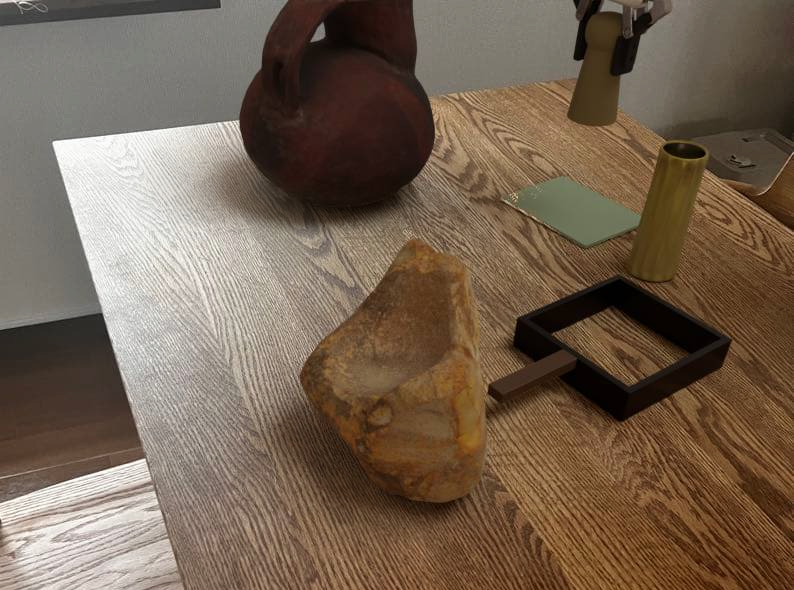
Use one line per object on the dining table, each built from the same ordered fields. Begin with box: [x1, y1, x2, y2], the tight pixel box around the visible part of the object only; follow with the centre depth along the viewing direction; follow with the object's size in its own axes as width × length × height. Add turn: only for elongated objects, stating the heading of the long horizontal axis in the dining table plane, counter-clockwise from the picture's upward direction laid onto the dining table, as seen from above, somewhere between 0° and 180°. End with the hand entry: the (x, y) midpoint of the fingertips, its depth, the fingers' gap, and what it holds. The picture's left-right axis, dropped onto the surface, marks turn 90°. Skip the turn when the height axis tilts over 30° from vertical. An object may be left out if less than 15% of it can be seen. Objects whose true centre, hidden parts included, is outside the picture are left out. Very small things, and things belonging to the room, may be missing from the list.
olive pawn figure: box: [566, 10, 623, 128], centre depth 96 cm, size 6×6×11 cm
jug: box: [238, 0, 436, 208], centre depth 103 cm, size 25×25×25 cm
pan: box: [486, 273, 733, 423], centre depth 84 cm, size 26×16×4 cm, turn 127°
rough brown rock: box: [299, 237, 488, 503], centre depth 73 cm, size 23×17×15 cm
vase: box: [624, 139, 710, 283], centre depth 94 cm, size 6×6×14 cm
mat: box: [501, 175, 642, 250], centre depth 109 cm, size 12×16×1 cm
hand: (602, 64), depth 96 cm, fingers closed on olive pawn figure, 5 cm apart
